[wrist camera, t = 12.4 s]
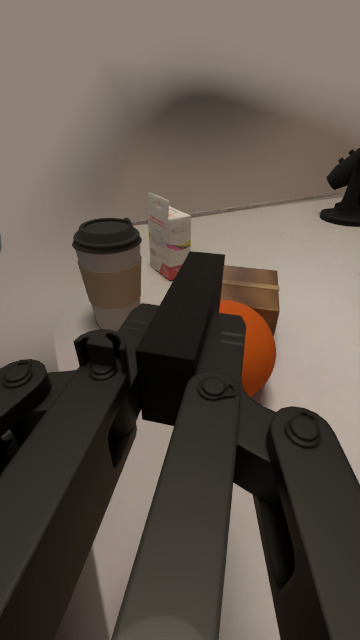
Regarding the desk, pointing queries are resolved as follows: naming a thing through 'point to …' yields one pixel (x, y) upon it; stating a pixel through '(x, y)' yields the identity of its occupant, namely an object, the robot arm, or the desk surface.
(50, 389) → the robot arm
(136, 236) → the coffee cup
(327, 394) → the desk surface
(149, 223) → the ink cartridge box
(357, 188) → the microphone
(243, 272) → the box
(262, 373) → the ball
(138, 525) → the desk surface
